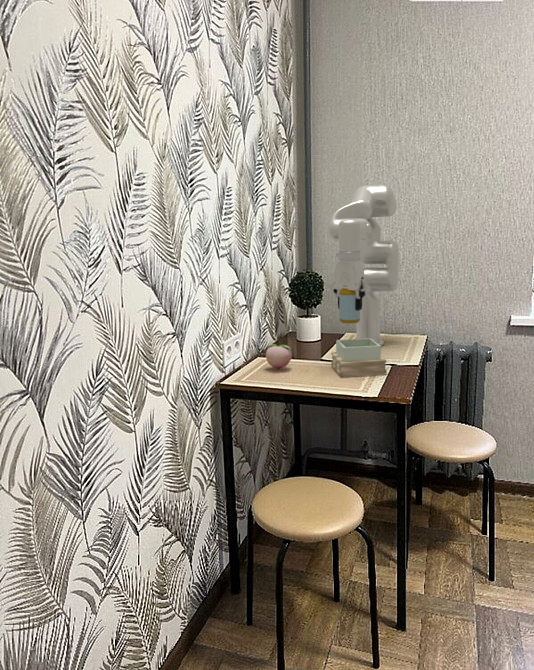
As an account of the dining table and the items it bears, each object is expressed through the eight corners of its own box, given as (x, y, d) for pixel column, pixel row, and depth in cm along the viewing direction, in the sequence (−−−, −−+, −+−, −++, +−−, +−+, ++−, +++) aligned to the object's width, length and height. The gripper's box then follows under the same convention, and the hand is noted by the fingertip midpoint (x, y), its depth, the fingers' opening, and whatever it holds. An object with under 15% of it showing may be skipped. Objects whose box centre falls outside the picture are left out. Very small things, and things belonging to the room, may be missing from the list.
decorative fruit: (263, 372, 216) (262, 344, 214) (267, 366, 224) (266, 339, 222) (290, 372, 215) (289, 344, 213) (293, 366, 223) (292, 339, 221)
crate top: (336, 353, 220) (336, 340, 219) (370, 351, 221) (370, 338, 220) (344, 361, 207) (344, 347, 206) (380, 359, 209) (380, 345, 208)
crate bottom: (331, 366, 222) (331, 352, 221) (374, 363, 223) (374, 350, 222) (340, 377, 207) (340, 363, 206) (386, 374, 208) (386, 360, 207)
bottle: (337, 323, 211) (337, 279, 208) (341, 319, 218) (341, 277, 215) (357, 324, 209) (357, 279, 206) (361, 320, 216) (361, 277, 213)
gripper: (322, 257, 212) (323, 308, 215) (365, 258, 201) (365, 312, 204) (334, 255, 217) (335, 305, 221) (377, 256, 206) (377, 309, 210)
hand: (349, 308), depth 213 cm, fingers closed on bottle, 6 cm apart
